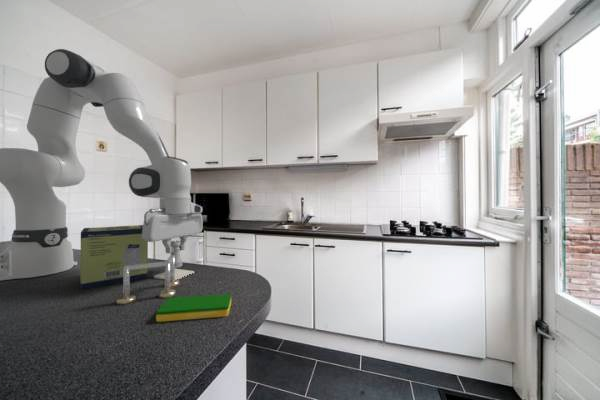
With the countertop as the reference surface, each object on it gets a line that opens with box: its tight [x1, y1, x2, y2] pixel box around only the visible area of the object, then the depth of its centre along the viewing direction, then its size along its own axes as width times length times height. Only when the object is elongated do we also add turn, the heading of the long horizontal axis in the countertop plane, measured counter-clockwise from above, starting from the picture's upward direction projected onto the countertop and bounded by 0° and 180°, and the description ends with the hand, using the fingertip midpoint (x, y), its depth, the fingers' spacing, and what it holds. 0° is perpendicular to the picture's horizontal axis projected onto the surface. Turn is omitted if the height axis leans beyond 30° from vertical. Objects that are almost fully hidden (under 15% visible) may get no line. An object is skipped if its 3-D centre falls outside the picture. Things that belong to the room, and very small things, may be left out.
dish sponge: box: [155, 293, 232, 323], centre depth 51 cm, size 7×14×2 cm, turn 101°
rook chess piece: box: [169, 240, 184, 269], centre depth 74 cm, size 4×4×8 cm
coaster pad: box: [153, 268, 195, 280], centre depth 74 cm, size 8×8×1 cm
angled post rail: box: [116, 254, 180, 306], centre depth 60 cm, size 10×16×8 cm, turn 161°
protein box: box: [80, 224, 149, 290], centre depth 71 cm, size 10×16×16 cm
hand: (175, 251), depth 74 cm, fingers closed on rook chess piece, 3 cm apart
